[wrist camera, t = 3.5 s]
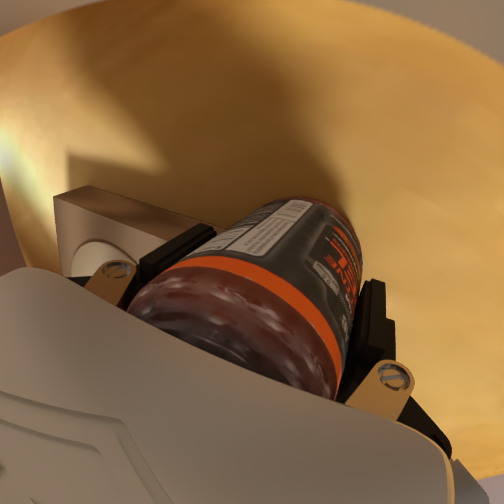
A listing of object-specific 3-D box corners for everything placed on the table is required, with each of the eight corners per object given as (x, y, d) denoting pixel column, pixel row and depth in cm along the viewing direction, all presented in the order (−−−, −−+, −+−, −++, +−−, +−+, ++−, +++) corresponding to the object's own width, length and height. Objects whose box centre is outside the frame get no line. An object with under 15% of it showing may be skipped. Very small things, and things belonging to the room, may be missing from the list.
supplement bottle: (377, 296, 14) (328, 542, 4) (269, 315, 16) (146, 491, 7) (341, 175, 12) (191, 353, 3) (226, 213, 15) (22, 345, 5)
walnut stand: (239, 233, 15) (207, 258, 12) (217, 383, 21) (195, 413, 18) (86, 185, 18) (50, 197, 16) (99, 318, 24) (75, 336, 21)
